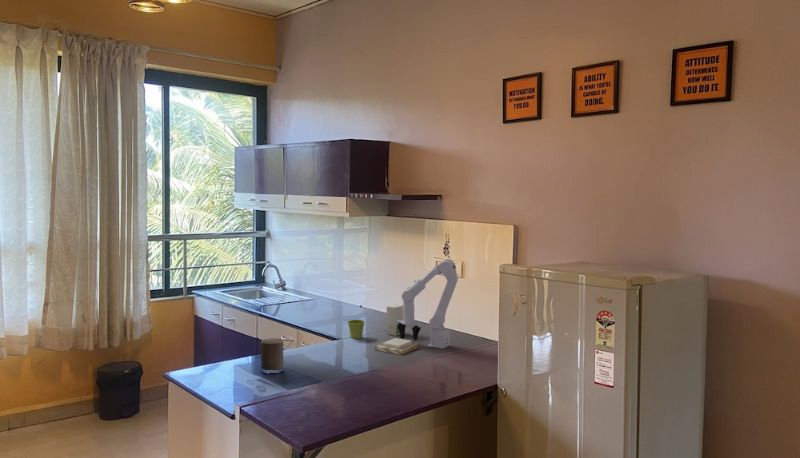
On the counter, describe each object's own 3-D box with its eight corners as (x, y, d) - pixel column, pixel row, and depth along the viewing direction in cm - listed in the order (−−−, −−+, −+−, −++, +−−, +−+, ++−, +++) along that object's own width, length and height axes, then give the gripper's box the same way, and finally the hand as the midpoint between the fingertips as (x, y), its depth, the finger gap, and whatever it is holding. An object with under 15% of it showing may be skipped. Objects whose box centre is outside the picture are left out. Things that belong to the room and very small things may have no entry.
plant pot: (366, 335, 322) (366, 319, 321) (363, 339, 312) (363, 323, 312) (349, 335, 323) (349, 319, 322) (346, 339, 313) (345, 323, 313)
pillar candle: (261, 375, 255) (261, 341, 254) (260, 368, 265) (260, 335, 263) (284, 373, 258) (284, 339, 257) (282, 366, 267) (282, 334, 266)
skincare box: (395, 336, 319) (395, 307, 318) (385, 334, 323) (385, 306, 322) (404, 333, 326) (404, 305, 324) (395, 331, 330) (395, 303, 329)
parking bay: (417, 347, 296) (417, 344, 295) (400, 354, 284) (400, 350, 284) (392, 343, 305) (391, 339, 305) (374, 349, 293) (374, 345, 293)
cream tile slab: (411, 347, 296) (411, 340, 296) (399, 352, 287) (399, 345, 287) (395, 344, 302) (394, 338, 302) (382, 349, 293) (382, 342, 293)
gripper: (424, 313, 301) (425, 339, 302) (401, 310, 310) (401, 335, 311) (417, 315, 296) (417, 342, 297) (393, 312, 304) (394, 338, 305)
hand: (409, 339), depth 303 cm, fingers open, 7 cm apart
